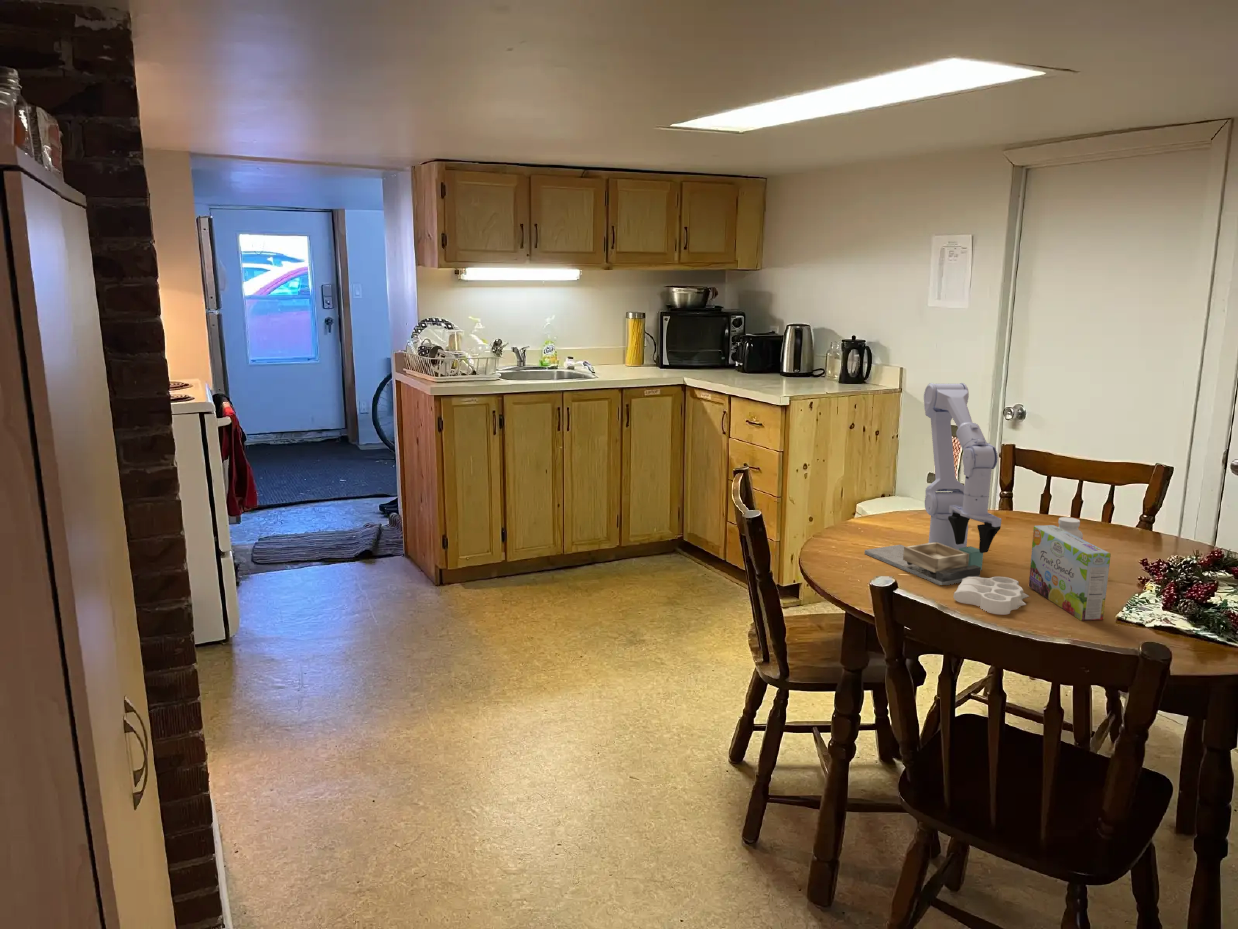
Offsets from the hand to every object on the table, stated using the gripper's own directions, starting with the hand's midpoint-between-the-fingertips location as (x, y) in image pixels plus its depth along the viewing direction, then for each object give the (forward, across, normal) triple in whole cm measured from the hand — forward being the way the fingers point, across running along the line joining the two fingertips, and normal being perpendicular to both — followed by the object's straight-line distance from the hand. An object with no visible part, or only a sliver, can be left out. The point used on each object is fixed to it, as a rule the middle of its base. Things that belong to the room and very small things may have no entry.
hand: (971, 548), depth 216 cm
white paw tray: (+6, +18, -12) cm, 22 cm away
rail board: (+5, -7, -10) cm, 13 cm away
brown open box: (+4, -2, -10) cm, 11 cm away
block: (+5, 0, 0) cm, 5 cm away
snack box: (+6, +26, +1) cm, 27 cm away
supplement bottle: (+6, +10, +21) cm, 24 cm away
